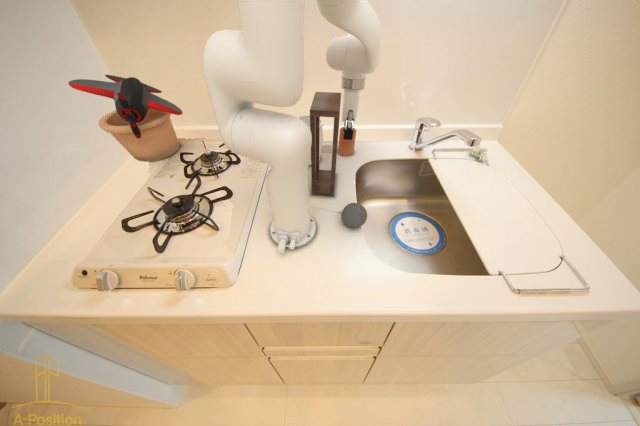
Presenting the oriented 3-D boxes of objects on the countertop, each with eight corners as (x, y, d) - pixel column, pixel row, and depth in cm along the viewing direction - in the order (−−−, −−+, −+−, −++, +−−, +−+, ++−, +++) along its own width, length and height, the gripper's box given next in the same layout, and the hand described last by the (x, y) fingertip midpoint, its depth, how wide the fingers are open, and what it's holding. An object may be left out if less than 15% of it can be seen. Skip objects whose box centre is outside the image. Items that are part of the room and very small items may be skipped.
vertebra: (484, 157, 79) (494, 149, 78) (468, 147, 83) (477, 140, 83) (483, 166, 84) (492, 159, 83) (468, 156, 88) (476, 150, 88)
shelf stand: (333, 196, 70) (339, 111, 50) (312, 195, 70) (309, 109, 50) (335, 174, 78) (341, 92, 58) (316, 172, 78) (315, 91, 58)
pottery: (129, 173, 77) (98, 135, 66) (123, 147, 89) (97, 111, 79) (192, 153, 86) (174, 117, 75) (179, 132, 98) (162, 98, 87)
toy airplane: (72, 35, 63) (82, 84, 72) (52, 78, 52) (67, 129, 62) (183, 74, 79) (179, 110, 89) (185, 113, 68) (181, 149, 78)
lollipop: (292, 226, 59) (301, 236, 65) (367, 220, 54) (368, 231, 60) (295, 197, 63) (303, 208, 69) (364, 188, 58) (366, 201, 64)
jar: (292, 155, 86) (288, 117, 75) (315, 149, 89) (315, 112, 78) (302, 169, 79) (299, 130, 68) (327, 163, 82) (328, 124, 71)
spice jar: (353, 156, 86) (356, 134, 79) (337, 155, 86) (339, 133, 79) (353, 147, 90) (356, 127, 83) (338, 147, 90) (340, 126, 84)
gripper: (342, 73, 76) (339, 121, 88) (340, 92, 64) (337, 144, 77) (363, 74, 75) (357, 122, 88) (366, 93, 64) (358, 145, 76)
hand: (348, 132), depth 82 cm, fingers open, 9 cm apart
